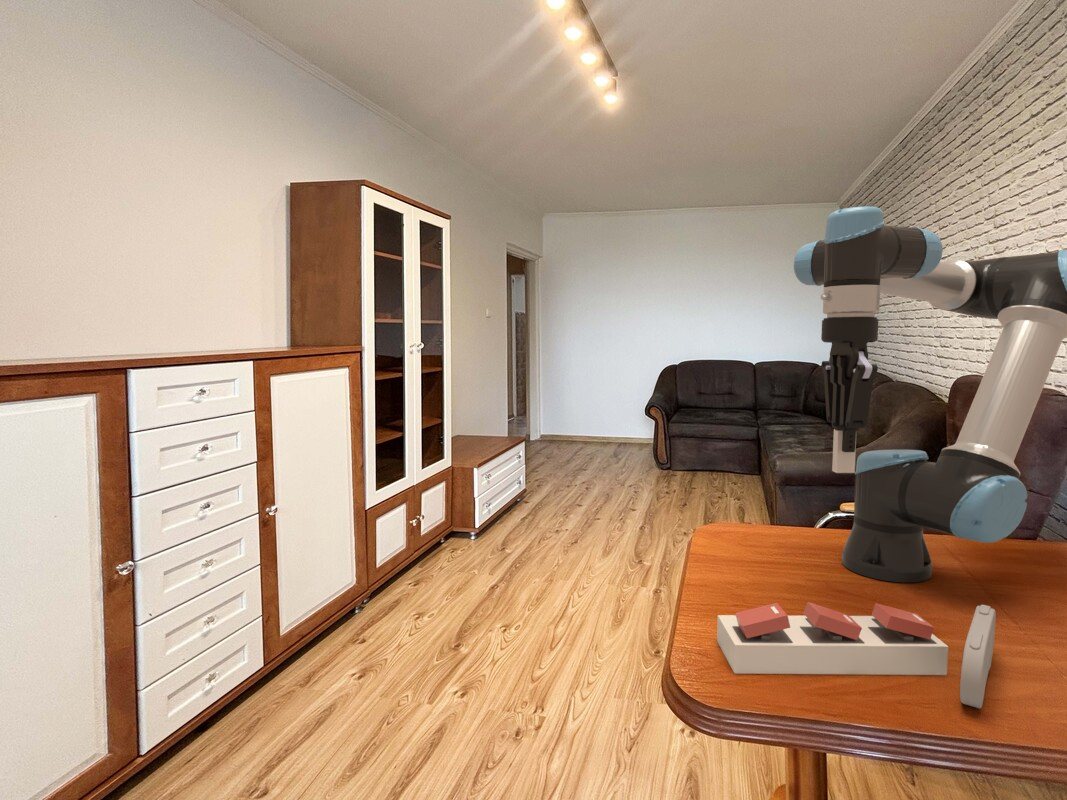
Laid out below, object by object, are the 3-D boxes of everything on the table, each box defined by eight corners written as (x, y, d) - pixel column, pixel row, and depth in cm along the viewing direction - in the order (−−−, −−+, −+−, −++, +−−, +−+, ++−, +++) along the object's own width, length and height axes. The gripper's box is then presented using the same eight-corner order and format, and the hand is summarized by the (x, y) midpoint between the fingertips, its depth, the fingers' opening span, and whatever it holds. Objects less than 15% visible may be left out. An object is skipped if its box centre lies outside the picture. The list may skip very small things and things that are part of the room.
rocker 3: (912, 625, 88) (917, 613, 88) (929, 639, 84) (934, 626, 84) (871, 614, 88) (875, 602, 88) (886, 628, 84) (891, 615, 84)
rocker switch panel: (908, 642, 92) (910, 611, 92) (946, 675, 83) (948, 641, 83) (716, 640, 93) (717, 610, 93) (734, 673, 84) (735, 640, 84)
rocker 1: (779, 614, 88) (776, 601, 88) (790, 627, 84) (787, 614, 84) (738, 624, 89) (734, 612, 88) (746, 638, 85) (743, 625, 84)
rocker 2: (843, 626, 88) (848, 614, 88) (857, 640, 84) (862, 627, 84) (803, 613, 88) (807, 601, 88) (814, 626, 84) (820, 613, 84)
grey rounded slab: (973, 650, 90) (977, 594, 89) (993, 655, 88) (997, 599, 88) (956, 714, 75) (960, 648, 74) (979, 721, 74) (983, 654, 73)
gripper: (806, 317, 100) (801, 463, 102) (844, 314, 87) (837, 481, 89) (854, 316, 99) (848, 463, 102) (899, 314, 86) (891, 481, 89)
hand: (843, 471), depth 95 cm, fingers closed
